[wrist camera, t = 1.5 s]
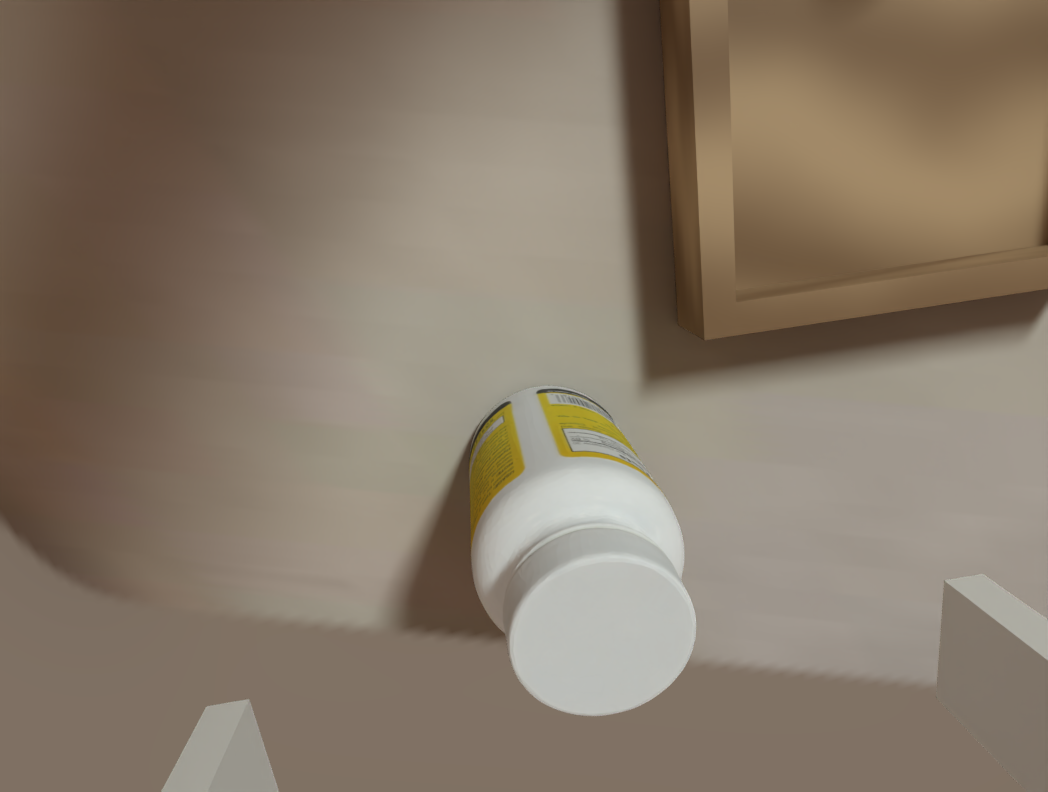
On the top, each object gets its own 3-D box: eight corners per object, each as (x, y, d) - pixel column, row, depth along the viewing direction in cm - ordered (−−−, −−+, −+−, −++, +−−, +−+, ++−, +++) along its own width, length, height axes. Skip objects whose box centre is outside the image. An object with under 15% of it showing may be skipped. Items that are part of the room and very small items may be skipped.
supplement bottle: (495, 542, 23) (512, 773, 14) (448, 408, 21) (432, 568, 12) (636, 499, 23) (750, 702, 14) (600, 362, 21) (702, 486, 12)
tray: (643, -278, 16) (672, -361, 14) (1154, -334, 17) (1267, -423, 14) (678, 324, 21) (704, 340, 19) (1073, 265, 22) (1148, 273, 19)
